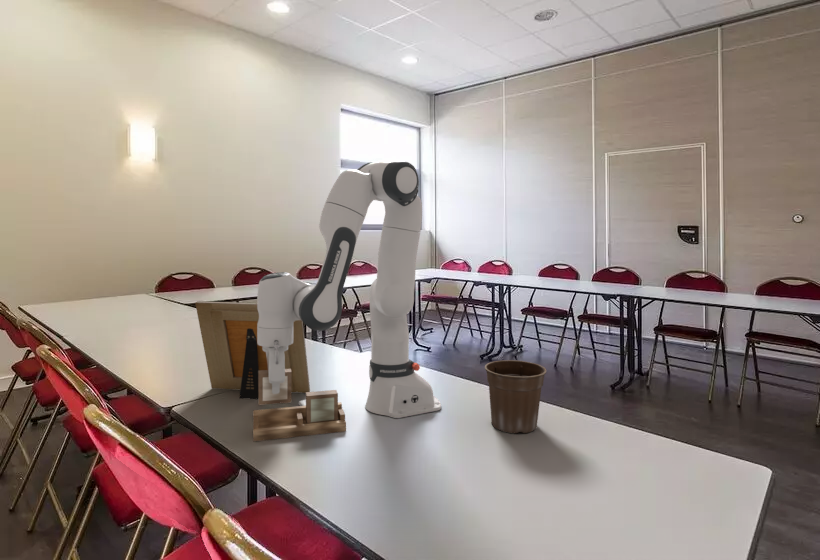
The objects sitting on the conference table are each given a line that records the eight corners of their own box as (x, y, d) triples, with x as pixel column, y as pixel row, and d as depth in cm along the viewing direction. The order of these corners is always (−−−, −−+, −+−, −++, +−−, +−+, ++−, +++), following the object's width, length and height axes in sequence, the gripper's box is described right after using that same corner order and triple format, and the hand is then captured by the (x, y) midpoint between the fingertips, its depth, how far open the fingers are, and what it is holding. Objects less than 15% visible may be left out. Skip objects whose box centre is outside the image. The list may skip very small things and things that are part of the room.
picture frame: (310, 392, 155) (309, 300, 152) (300, 403, 146) (299, 305, 143) (213, 387, 159) (211, 297, 156) (197, 398, 149) (194, 301, 146)
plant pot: (473, 428, 129) (475, 369, 127) (495, 410, 143) (497, 356, 141) (533, 443, 121) (536, 380, 119) (550, 421, 134) (553, 365, 133)
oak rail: (340, 419, 133) (341, 402, 133) (346, 431, 126) (346, 412, 125) (253, 428, 126) (253, 410, 126) (253, 441, 119) (253, 421, 118)
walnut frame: (290, 398, 126) (290, 368, 125) (291, 402, 123) (291, 372, 122) (258, 400, 124) (258, 370, 123) (258, 405, 121) (258, 374, 120)
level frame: (336, 418, 130) (336, 389, 130) (337, 422, 127) (337, 393, 127) (305, 421, 128) (305, 392, 127) (307, 426, 125) (306, 396, 124)
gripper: (291, 345, 113) (290, 402, 114) (285, 328, 132) (285, 377, 134) (263, 346, 111) (263, 405, 112) (261, 329, 130) (262, 379, 132)
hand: (275, 389), depth 123 cm, fingers closed on walnut frame, 3 cm apart
